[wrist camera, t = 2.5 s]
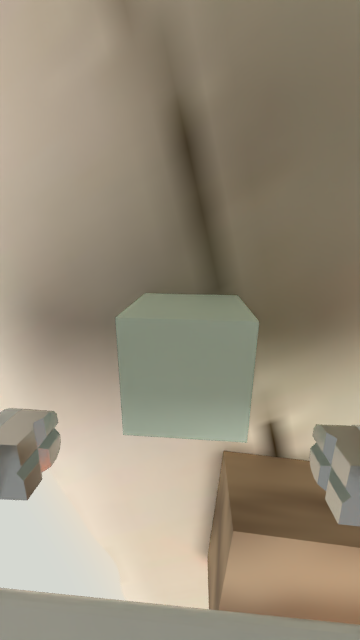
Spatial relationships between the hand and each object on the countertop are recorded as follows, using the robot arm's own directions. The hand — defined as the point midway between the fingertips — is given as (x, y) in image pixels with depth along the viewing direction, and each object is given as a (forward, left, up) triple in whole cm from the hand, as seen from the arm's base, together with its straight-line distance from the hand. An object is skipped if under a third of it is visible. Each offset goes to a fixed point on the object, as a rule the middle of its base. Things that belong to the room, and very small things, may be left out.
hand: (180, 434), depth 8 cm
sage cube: (-1, 0, -7) cm, 7 cm away
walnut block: (+12, +7, -7) cm, 16 cm away
